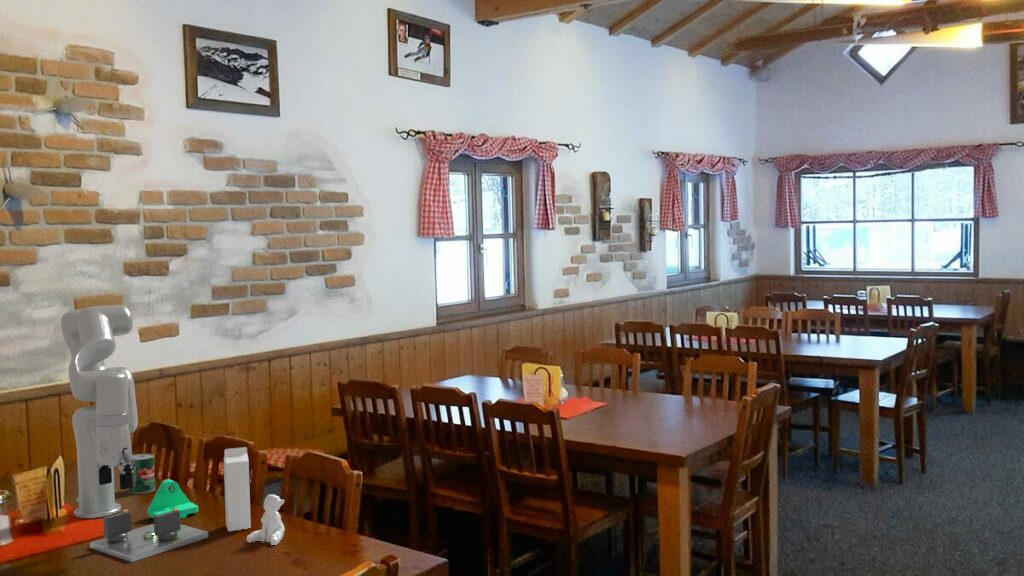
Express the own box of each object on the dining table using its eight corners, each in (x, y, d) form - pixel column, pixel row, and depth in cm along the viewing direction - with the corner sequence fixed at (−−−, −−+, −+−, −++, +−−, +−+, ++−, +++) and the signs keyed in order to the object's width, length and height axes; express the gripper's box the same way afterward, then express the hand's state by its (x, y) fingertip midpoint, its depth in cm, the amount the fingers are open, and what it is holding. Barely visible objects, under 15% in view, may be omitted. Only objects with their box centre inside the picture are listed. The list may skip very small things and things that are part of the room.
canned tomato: (149, 493, 282) (147, 459, 281) (124, 494, 282) (122, 459, 281) (159, 486, 290) (158, 453, 289) (135, 487, 290) (133, 453, 289)
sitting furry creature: (245, 543, 233) (243, 497, 232) (265, 532, 241) (264, 489, 240) (275, 546, 230) (273, 500, 229) (295, 536, 238) (293, 492, 237)
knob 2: (151, 539, 232) (150, 512, 232) (173, 532, 237) (172, 506, 237) (162, 543, 229) (161, 515, 229) (184, 536, 234) (183, 509, 234)
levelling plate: (90, 547, 231) (89, 538, 231) (166, 525, 249) (166, 516, 249) (131, 562, 220) (131, 552, 220) (208, 537, 238) (207, 528, 238)
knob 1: (101, 541, 231) (100, 514, 231) (124, 534, 236) (123, 508, 236) (111, 544, 228) (110, 517, 228) (134, 537, 234) (133, 511, 233)
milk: (250, 528, 245) (248, 449, 243) (227, 532, 242) (225, 451, 241) (248, 522, 250) (245, 444, 249) (225, 525, 248) (223, 447, 247)
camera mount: (157, 524, 250) (156, 488, 250) (147, 518, 256) (146, 483, 256) (199, 515, 259) (198, 480, 258) (188, 509, 264) (187, 475, 264)
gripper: (81, 420, 233) (84, 485, 233) (117, 425, 223) (120, 493, 223) (108, 415, 239) (111, 479, 239) (145, 421, 229) (148, 487, 229)
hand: (116, 486), depth 231 cm, fingers open, 9 cm apart
